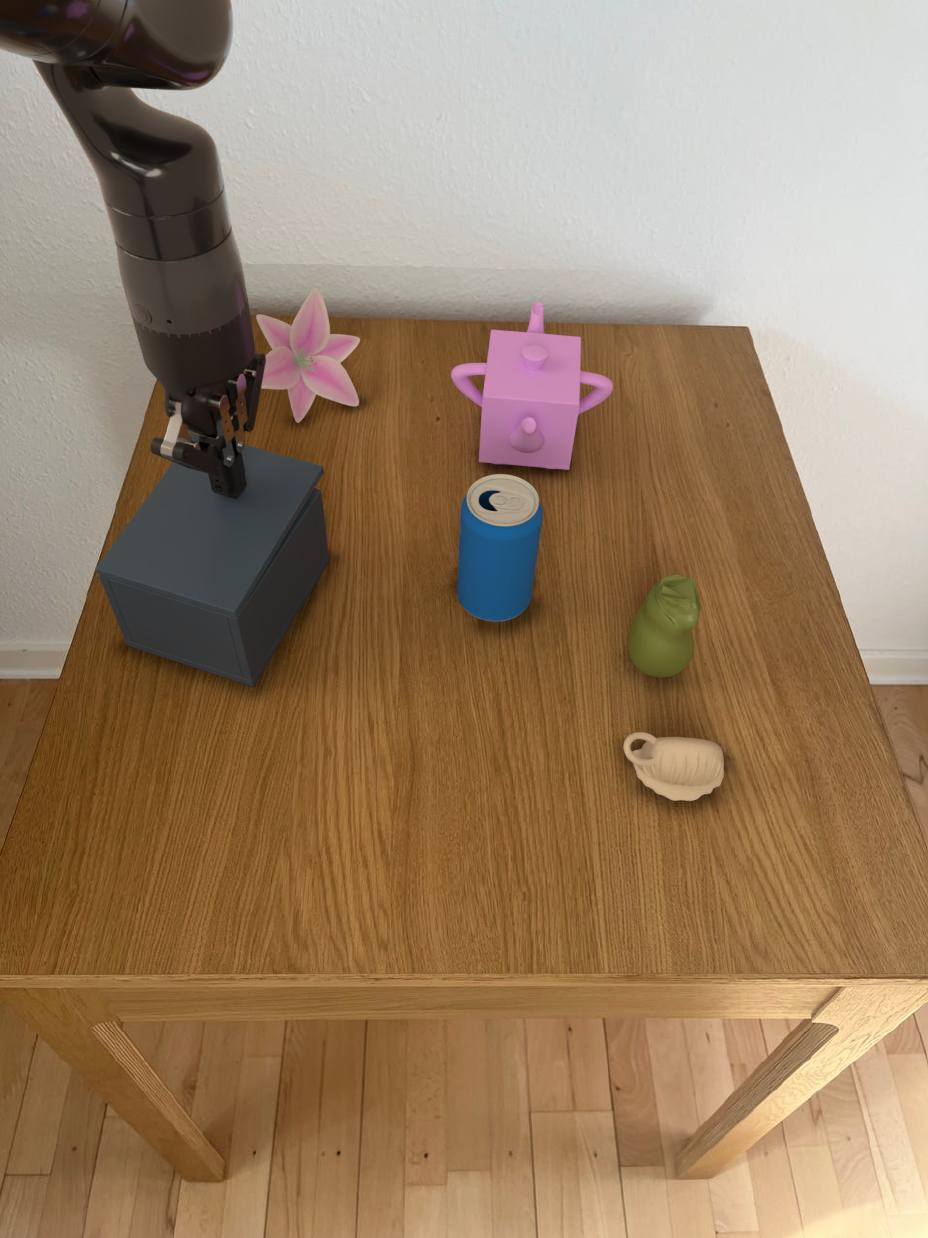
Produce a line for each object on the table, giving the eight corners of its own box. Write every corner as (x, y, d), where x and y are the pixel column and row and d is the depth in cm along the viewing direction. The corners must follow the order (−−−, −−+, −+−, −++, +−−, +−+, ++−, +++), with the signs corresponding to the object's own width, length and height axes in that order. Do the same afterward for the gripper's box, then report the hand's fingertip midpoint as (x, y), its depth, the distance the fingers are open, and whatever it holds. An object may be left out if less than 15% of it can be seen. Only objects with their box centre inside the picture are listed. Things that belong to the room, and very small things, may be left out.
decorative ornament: (723, 806, 70) (743, 770, 66) (612, 793, 71) (624, 757, 66) (720, 759, 73) (738, 722, 69) (612, 747, 73) (624, 709, 69)
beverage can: (462, 566, 84) (467, 465, 75) (533, 575, 84) (547, 475, 75) (451, 621, 80) (455, 523, 71) (527, 631, 80) (540, 533, 71)
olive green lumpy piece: (620, 635, 80) (641, 555, 72) (682, 638, 80) (710, 559, 72) (625, 689, 77) (648, 612, 69) (690, 692, 77) (720, 615, 69)
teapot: (427, 423, 96) (428, 332, 88) (530, 379, 101) (540, 288, 93) (518, 512, 89) (529, 422, 80) (624, 459, 94) (644, 369, 86)
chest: (213, 527, 86) (195, 454, 79) (329, 561, 84) (321, 489, 77) (126, 646, 78) (98, 575, 71) (253, 687, 76) (236, 619, 69)
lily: (233, 427, 96) (250, 382, 88) (238, 326, 100) (254, 273, 91) (347, 445, 101) (373, 404, 92) (348, 348, 104) (373, 299, 96)
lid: (197, 437, 79) (195, 430, 78) (324, 472, 77) (323, 465, 76) (98, 575, 71) (94, 568, 70) (236, 618, 69) (234, 612, 68)
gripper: (187, 367, 56) (233, 561, 70) (285, 256, 64) (310, 450, 78) (78, 339, 58) (144, 534, 71) (188, 233, 66) (229, 427, 79)
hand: (231, 490), depth 75 cm, fingers closed
